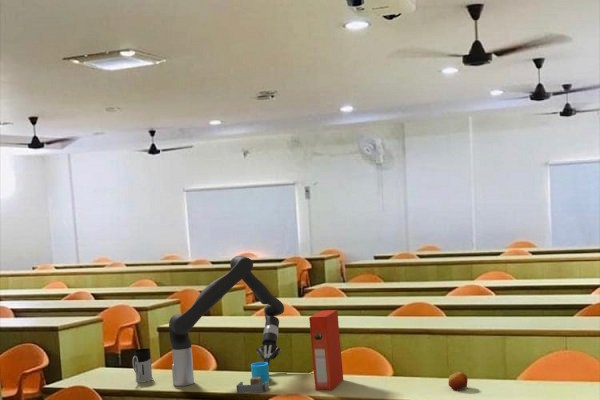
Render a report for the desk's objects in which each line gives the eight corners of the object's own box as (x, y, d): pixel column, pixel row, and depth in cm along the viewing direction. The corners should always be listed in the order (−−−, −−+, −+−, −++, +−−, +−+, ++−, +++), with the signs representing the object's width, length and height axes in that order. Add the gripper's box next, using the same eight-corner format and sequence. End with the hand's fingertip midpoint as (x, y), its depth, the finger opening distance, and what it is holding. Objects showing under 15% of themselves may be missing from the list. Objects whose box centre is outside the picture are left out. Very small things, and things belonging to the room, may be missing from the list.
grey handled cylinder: (156, 377, 329) (154, 348, 329) (142, 385, 315) (140, 354, 316) (140, 377, 331) (138, 348, 332) (126, 385, 318) (124, 354, 318)
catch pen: (236, 392, 290) (236, 385, 290) (241, 388, 296) (240, 381, 296) (265, 391, 287) (264, 385, 287) (268, 387, 294) (268, 381, 294)
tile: (250, 388, 296) (250, 379, 296) (253, 385, 300) (252, 377, 300) (259, 388, 295) (258, 379, 295) (261, 385, 299) (260, 376, 299)
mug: (265, 383, 301) (264, 366, 301) (249, 383, 304) (248, 366, 304) (274, 376, 313) (273, 359, 313) (258, 376, 315) (257, 360, 315)
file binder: (314, 390, 284) (309, 317, 284) (326, 379, 300) (321, 310, 301) (332, 390, 281) (326, 316, 282) (343, 379, 297) (338, 310, 298)
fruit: (469, 388, 263) (457, 371, 266) (453, 397, 267) (442, 380, 269) (475, 383, 270) (464, 366, 272) (460, 392, 274) (449, 375, 276)
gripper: (256, 332, 328) (251, 362, 316) (281, 331, 326) (277, 361, 313) (259, 340, 333) (255, 370, 321) (284, 339, 331) (281, 369, 319)
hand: (266, 366), depth 317 cm, fingers closed
